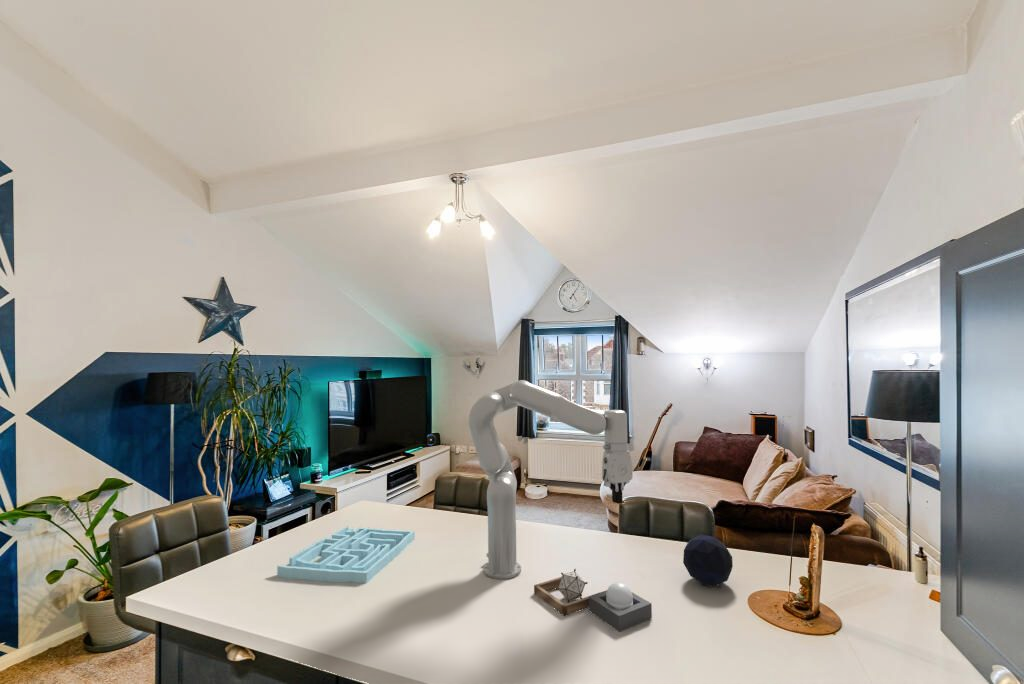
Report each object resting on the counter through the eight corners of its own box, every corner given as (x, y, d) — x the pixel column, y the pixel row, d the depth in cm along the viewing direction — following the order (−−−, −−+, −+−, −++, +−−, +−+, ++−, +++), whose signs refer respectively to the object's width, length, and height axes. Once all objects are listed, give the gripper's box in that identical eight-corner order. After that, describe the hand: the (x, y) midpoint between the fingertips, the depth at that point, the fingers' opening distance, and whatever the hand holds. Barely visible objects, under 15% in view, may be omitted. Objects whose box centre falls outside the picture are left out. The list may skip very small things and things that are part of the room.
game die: (578, 614, 135) (590, 595, 130) (550, 604, 135) (562, 585, 130) (579, 586, 143) (592, 567, 138) (554, 577, 143) (565, 557, 138)
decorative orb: (667, 556, 153) (684, 528, 145) (704, 549, 158) (722, 523, 150) (691, 598, 142) (711, 571, 134) (730, 591, 147) (751, 564, 139)
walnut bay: (534, 593, 140) (534, 585, 140) (570, 582, 147) (570, 573, 147) (564, 616, 127) (564, 607, 127) (602, 602, 134) (602, 593, 134)
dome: (601, 608, 129) (600, 581, 129) (620, 600, 133) (619, 575, 133) (619, 620, 123) (618, 592, 123) (638, 612, 126) (638, 585, 127)
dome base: (588, 611, 130) (588, 596, 130) (620, 599, 136) (620, 585, 136) (619, 631, 119) (619, 616, 120) (651, 618, 126) (651, 603, 126)
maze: (341, 534, 192) (341, 525, 192) (416, 539, 186) (416, 530, 186) (274, 578, 153) (274, 566, 153) (365, 586, 147) (365, 574, 147)
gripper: (607, 451, 148) (608, 509, 147) (640, 446, 156) (641, 501, 155) (591, 447, 155) (592, 503, 154) (624, 443, 162) (625, 496, 161)
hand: (617, 502), depth 154 cm, fingers closed
